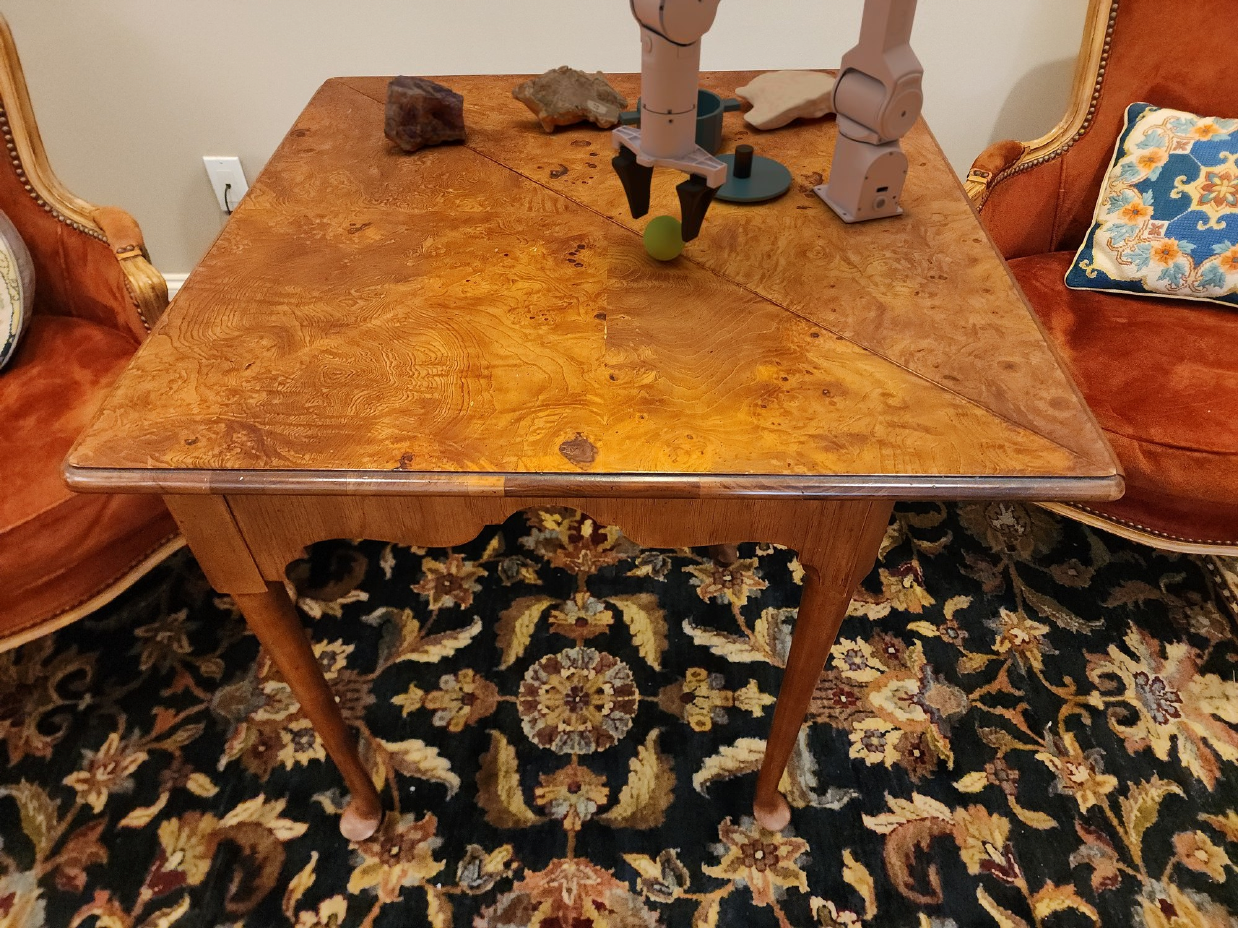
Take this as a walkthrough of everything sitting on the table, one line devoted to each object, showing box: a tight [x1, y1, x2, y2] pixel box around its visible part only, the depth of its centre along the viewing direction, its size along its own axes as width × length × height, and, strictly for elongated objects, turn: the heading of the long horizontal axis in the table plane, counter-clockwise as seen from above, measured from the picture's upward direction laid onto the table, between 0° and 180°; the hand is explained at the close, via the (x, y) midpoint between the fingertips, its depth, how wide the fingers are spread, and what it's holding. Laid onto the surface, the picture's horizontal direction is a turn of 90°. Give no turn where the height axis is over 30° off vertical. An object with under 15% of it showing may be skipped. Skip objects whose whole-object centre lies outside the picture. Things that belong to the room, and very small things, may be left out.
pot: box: [618, 88, 742, 157], centre depth 109 cm, size 12×18×6 cm
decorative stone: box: [734, 69, 837, 131], centre depth 118 cm, size 21×5×15 cm
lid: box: [713, 143, 793, 203], centre depth 101 cm, size 13×13×5 cm
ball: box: [642, 214, 686, 262], centre depth 88 cm, size 5×5×5 cm
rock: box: [383, 74, 467, 152], centre depth 110 cm, size 12×9×10 cm
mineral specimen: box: [511, 64, 629, 133], centre depth 115 cm, size 13×7×15 cm
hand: (664, 227), depth 87 cm, fingers open, 7 cm apart
